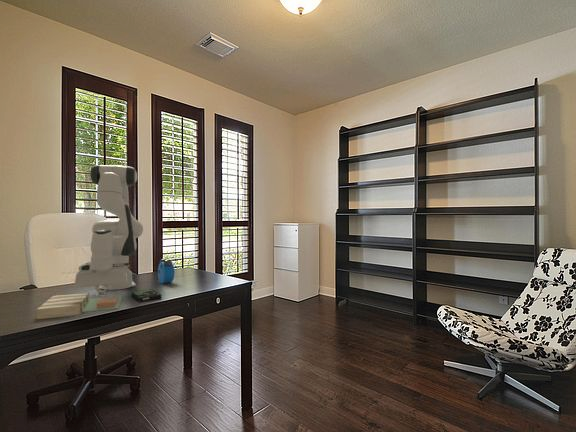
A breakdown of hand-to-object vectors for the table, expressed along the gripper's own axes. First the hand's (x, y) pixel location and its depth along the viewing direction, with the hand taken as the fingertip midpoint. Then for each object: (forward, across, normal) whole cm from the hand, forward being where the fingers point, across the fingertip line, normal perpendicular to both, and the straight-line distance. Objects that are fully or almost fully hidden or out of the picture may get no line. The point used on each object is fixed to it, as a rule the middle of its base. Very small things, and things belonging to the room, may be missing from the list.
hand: (101, 295), depth 136 cm
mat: (+5, 0, -3) cm, 6 cm away
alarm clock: (+5, -29, -40) cm, 50 cm away
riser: (+5, +14, 0) cm, 14 cm away
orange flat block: (+2, -2, 0) cm, 3 cm away
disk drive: (+6, -18, -8) cm, 21 cm away
